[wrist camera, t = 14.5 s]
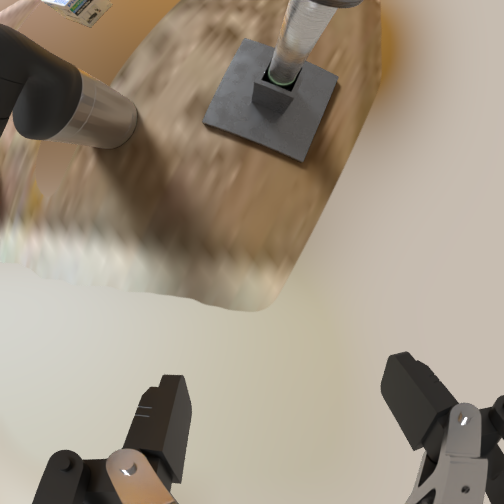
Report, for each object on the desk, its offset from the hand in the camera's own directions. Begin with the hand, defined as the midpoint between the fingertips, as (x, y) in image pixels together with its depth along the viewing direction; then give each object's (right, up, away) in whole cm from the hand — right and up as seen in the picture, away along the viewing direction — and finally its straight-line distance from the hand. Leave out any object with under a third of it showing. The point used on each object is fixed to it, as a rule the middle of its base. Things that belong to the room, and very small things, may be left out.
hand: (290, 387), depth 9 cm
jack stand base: (+2, +29, +28) cm, 40 cm away
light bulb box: (-34, +53, +20) cm, 66 cm away
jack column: (+2, +27, +21) cm, 34 cm away
